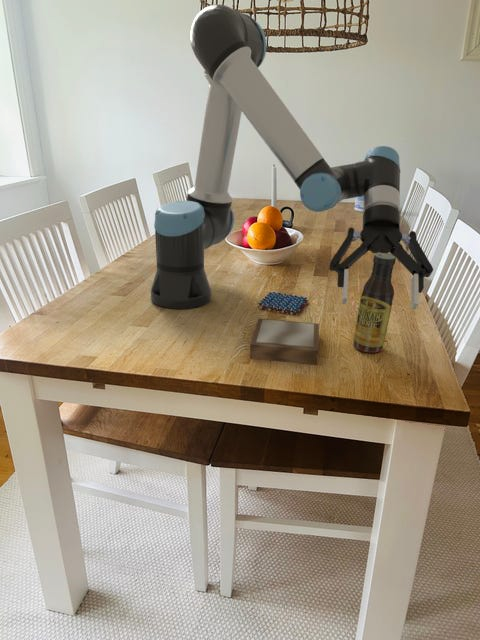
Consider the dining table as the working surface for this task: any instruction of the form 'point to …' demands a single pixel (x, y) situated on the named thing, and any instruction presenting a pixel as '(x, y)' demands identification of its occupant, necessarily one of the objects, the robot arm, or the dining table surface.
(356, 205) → the supplement tub
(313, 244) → the dining table surface
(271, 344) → the walnut plinth
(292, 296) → the woven mat
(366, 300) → the sauce bottle
